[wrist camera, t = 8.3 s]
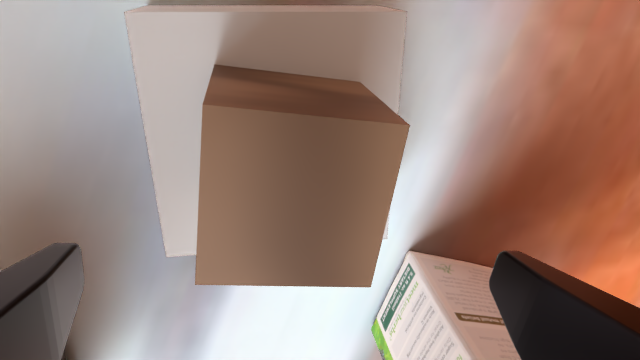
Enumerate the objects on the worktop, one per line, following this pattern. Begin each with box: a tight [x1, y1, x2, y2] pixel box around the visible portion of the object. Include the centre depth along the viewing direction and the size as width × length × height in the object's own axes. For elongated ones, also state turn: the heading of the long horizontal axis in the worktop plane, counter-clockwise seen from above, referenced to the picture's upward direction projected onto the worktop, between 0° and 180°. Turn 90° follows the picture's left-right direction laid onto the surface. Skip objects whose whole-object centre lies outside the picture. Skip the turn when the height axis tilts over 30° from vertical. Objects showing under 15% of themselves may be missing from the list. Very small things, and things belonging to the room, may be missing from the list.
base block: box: [124, 5, 407, 257], centre depth 17 cm, size 9×9×4 cm
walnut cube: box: [195, 64, 410, 287], centre depth 13 cm, size 5×5×5 cm
